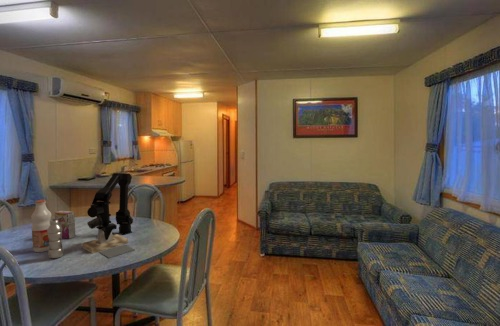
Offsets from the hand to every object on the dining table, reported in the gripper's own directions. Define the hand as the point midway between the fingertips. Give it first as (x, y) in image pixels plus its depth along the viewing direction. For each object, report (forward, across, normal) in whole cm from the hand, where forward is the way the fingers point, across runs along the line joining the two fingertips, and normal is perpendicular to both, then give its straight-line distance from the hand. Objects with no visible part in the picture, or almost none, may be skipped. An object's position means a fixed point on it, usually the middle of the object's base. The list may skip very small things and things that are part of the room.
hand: (105, 239), depth 163 cm
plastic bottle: (+4, -2, -24) cm, 24 cm away
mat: (+4, +15, 0) cm, 15 cm away
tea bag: (+4, 0, 0) cm, 4 cm away
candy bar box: (+4, -35, -10) cm, 37 cm away
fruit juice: (+4, -21, -25) cm, 33 cm away
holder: (+4, 0, 0) cm, 4 cm away
